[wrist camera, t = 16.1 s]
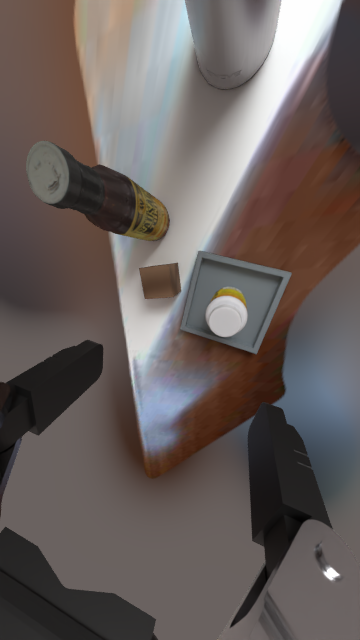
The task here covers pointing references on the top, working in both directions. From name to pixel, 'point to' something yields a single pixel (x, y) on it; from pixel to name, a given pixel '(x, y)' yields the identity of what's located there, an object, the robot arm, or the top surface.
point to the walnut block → (160, 281)
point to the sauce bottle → (95, 193)
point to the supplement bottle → (227, 312)
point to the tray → (250, 279)
